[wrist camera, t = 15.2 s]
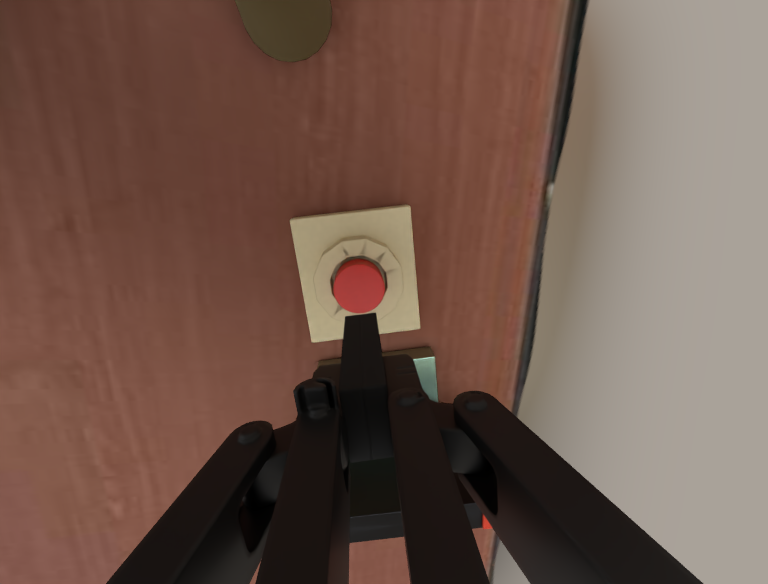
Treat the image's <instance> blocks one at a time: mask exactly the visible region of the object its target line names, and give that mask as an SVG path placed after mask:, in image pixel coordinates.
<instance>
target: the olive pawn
mask: <svg viewBox="0 0 768 584" xmlns="http://www.w3.org/2000/svg"><path fill="white" fill-rule="evenodd" d="M235 2H236V4H237V7H238V10H239V12H240V15H241V18H242V21H243V23H244V26H245V29H246V30H247V32H248V34H249V35H250V37H251V39H252V40H253V42H254V43H255V44H256V45H257V46H258V47H259V48H260V49H261V50H262V51H263V52H264V53H265V54H267V55H269V56H271V57H273V58H275V59H277V60H280V61H288V62H296V61H300V60H304V59H307V58H309V57H310V56H312V55H313V54H315V53H316V52H318V50H319V49H320V48H321V46H322V45H323V44H324V42H325V41H326V39H327V36H328V33H329V30H330V27H331V19H332V7H331V3H330V0H235Z"/></svg>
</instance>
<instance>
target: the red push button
mask: <svg viewBox="0 0 768 584" xmlns="http://www.w3.org/2000/svg"><path fill="white" fill-rule="evenodd" d="M333 292H334V296H335V299H336V301H337V302H338V304H339V305H340V306H341V307H342V308H344V309H345V310H347V311H349V312H352V313H366V312H369V311H371V310H373V309H375V308H376V307H377V306H378V305H379V304H380V302H381V301H382V299H383V297H384V293H385V284H384V280H383V277H382V274H381V272H380V270H379V268H378V267H377V266H376V265H375V264H373V263H372V262H370V261H368V260H364V259H354V260H350V261H348V262H346V263H345V264H343V265H342V266H341V267H340V268H339V270H338V271H337V273H336V276H335V281H334V286H333Z"/></svg>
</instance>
